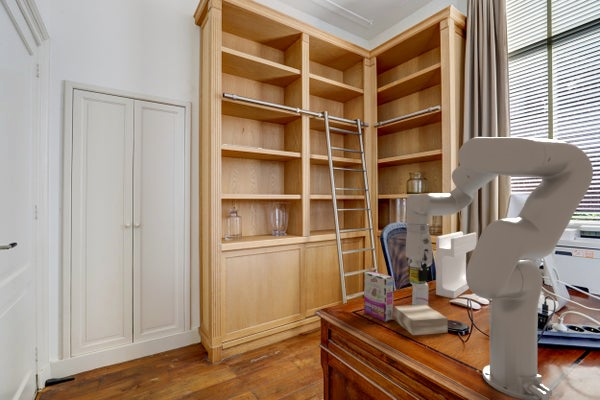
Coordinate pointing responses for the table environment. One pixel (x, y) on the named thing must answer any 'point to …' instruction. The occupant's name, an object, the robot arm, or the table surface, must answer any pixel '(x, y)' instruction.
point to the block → (452, 263)
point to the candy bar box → (378, 295)
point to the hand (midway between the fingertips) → (417, 278)
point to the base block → (420, 319)
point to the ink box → (420, 295)
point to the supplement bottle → (415, 273)
